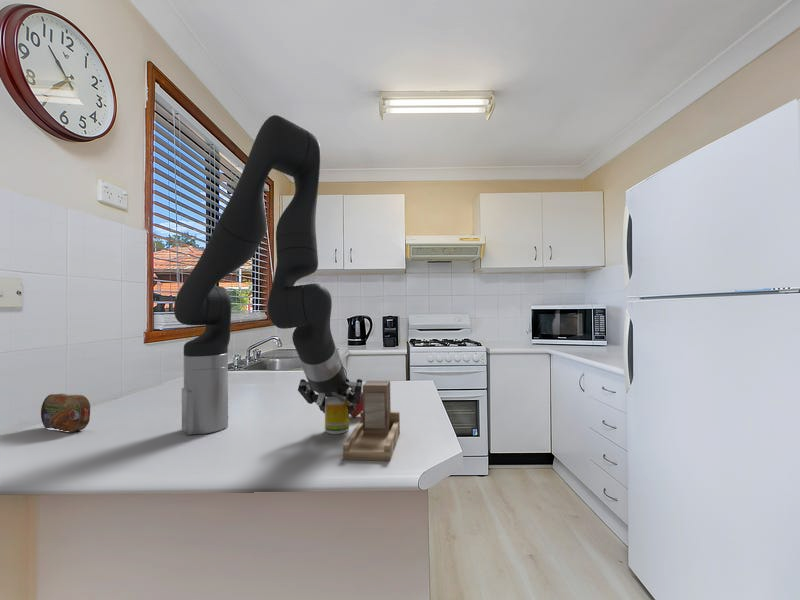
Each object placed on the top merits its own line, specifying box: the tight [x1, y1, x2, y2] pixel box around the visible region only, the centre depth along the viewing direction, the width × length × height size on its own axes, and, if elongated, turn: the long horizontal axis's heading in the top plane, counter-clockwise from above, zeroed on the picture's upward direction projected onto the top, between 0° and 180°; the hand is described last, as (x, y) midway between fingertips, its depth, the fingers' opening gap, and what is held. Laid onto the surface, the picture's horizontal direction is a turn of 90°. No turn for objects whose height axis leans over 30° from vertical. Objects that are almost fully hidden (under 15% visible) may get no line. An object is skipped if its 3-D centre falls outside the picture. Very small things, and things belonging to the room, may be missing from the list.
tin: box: [40, 393, 91, 433], centre depth 92 cm, size 15×3×8 cm, turn 68°
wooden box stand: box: [342, 380, 401, 462], centre depth 78 cm, size 16×8×12 cm, turn 174°
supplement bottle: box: [324, 397, 350, 435], centre depth 87 cm, size 5×5×10 cm
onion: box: [349, 388, 363, 418], centre depth 98 cm, size 6×6×8 cm
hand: (339, 409), depth 89 cm, fingers closed on supplement bottle, 5 cm apart
